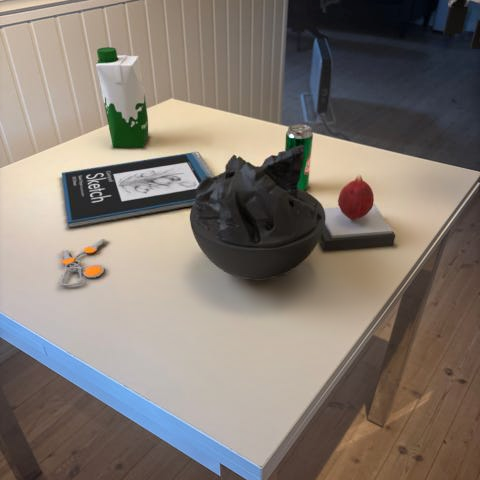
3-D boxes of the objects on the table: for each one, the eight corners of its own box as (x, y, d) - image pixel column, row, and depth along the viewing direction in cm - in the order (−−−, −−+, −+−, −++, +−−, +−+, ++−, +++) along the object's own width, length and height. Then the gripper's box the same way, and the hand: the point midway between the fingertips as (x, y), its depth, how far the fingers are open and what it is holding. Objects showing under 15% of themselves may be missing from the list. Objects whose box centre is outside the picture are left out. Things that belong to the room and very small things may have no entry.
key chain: (102, 284, 75) (100, 280, 75) (53, 288, 75) (51, 284, 74) (108, 240, 85) (107, 236, 84) (65, 243, 84) (64, 239, 83)
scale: (373, 215, 90) (376, 203, 88) (393, 245, 83) (396, 232, 81) (308, 220, 89) (309, 207, 87) (322, 251, 82) (324, 237, 80)
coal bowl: (191, 309, 71) (179, 190, 58) (197, 235, 86) (188, 127, 73) (328, 306, 71) (345, 186, 59) (310, 232, 86) (321, 125, 73)
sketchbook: (62, 178, 103) (60, 169, 102) (199, 158, 110) (199, 149, 109) (69, 228, 88) (66, 218, 87) (228, 201, 95) (227, 191, 93)
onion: (376, 222, 83) (385, 178, 78) (350, 231, 81) (357, 187, 76) (354, 208, 87) (361, 165, 82) (329, 216, 85) (334, 173, 80)
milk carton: (117, 135, 121) (100, 44, 107) (153, 135, 120) (141, 44, 107) (108, 149, 114) (89, 54, 101) (146, 149, 114) (133, 54, 100)
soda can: (309, 193, 97) (314, 133, 89) (283, 193, 97) (286, 133, 89) (307, 182, 101) (312, 123, 93) (282, 182, 101) (285, 123, 93)
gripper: (563, -94, 63) (515, 53, 74) (495, -98, 76) (462, 28, 87) (509, -93, 62) (468, 55, 74) (449, -97, 75) (422, 30, 87)
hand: (465, 41), depth 80 cm, fingers open, 9 cm apart
